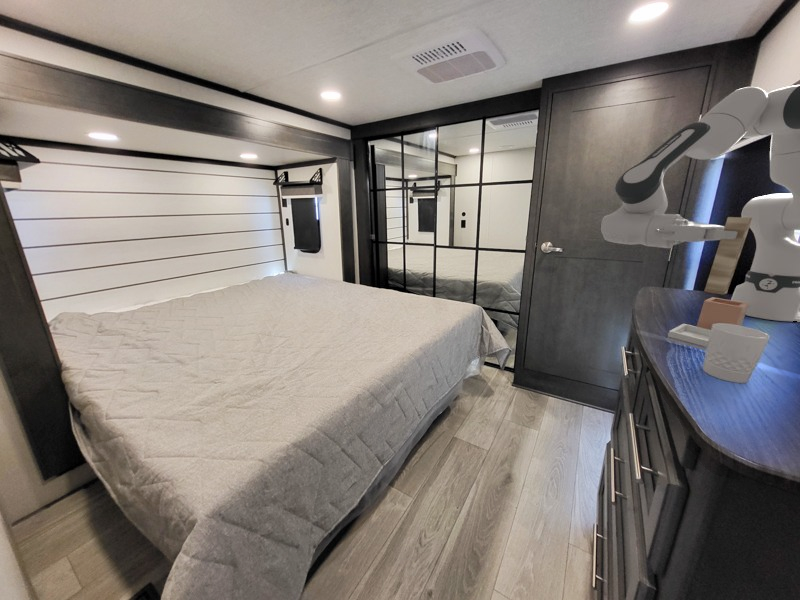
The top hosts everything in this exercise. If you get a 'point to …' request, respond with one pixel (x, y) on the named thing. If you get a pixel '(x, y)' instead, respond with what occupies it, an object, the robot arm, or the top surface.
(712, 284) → the birch stick
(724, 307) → the terracotta cup
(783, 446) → the top surface
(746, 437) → the top surface
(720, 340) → the white cup
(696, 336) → the grey tray
